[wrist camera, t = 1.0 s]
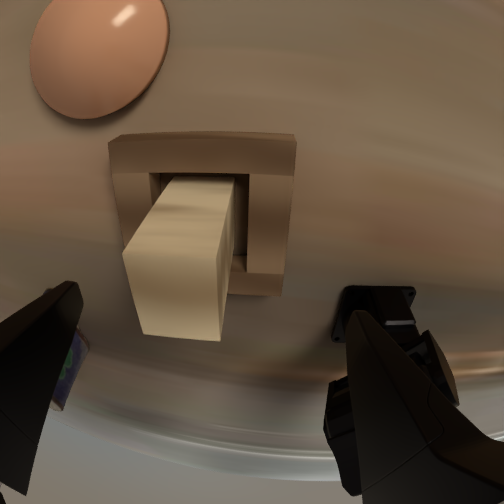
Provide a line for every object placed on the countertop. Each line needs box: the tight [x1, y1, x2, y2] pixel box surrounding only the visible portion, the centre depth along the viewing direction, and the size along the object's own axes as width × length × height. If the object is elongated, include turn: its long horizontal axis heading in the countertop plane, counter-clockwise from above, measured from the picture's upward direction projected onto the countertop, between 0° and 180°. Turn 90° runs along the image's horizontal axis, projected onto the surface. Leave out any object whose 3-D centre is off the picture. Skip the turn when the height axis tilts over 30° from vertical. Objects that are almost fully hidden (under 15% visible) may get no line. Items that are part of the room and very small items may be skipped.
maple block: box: [122, 176, 235, 341], centre depth 18 cm, size 5×4×9 cm
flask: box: [43, 288, 89, 411], centre depth 24 cm, size 9×3×11 cm, turn 4°
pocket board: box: [108, 132, 297, 296], centre depth 20 cm, size 11×11×2 cm
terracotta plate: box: [30, 0, 170, 119], centre depth 14 cm, size 10×10×1 cm
